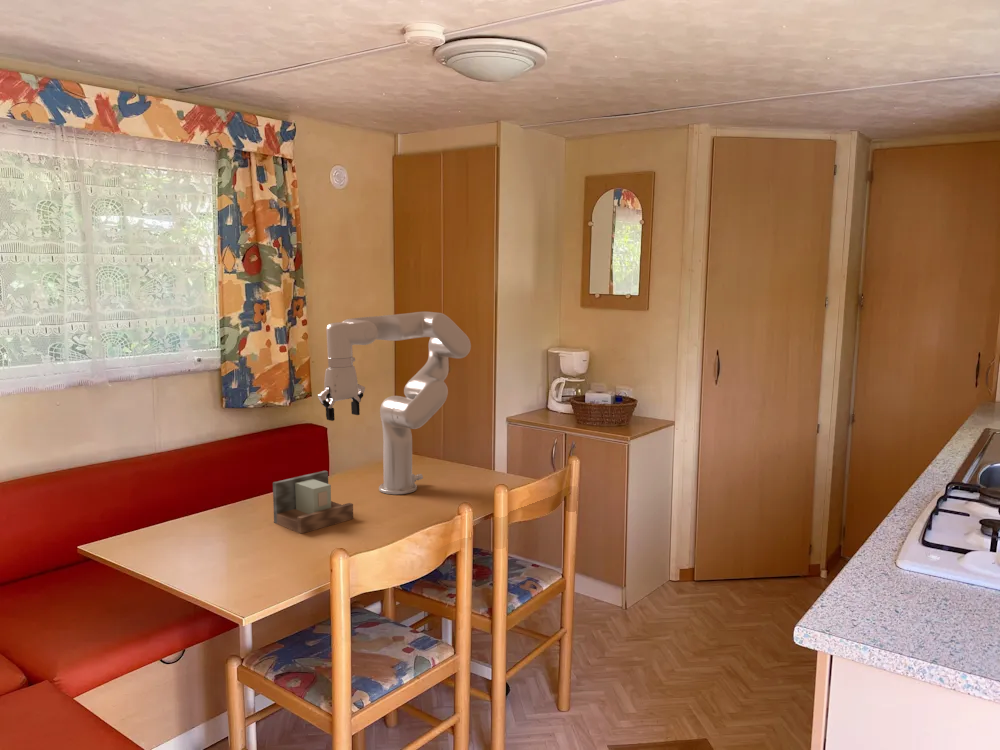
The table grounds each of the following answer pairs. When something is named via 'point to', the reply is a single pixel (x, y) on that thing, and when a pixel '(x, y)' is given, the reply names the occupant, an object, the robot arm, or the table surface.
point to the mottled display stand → (299, 520)
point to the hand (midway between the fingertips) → (343, 417)
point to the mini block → (312, 496)
